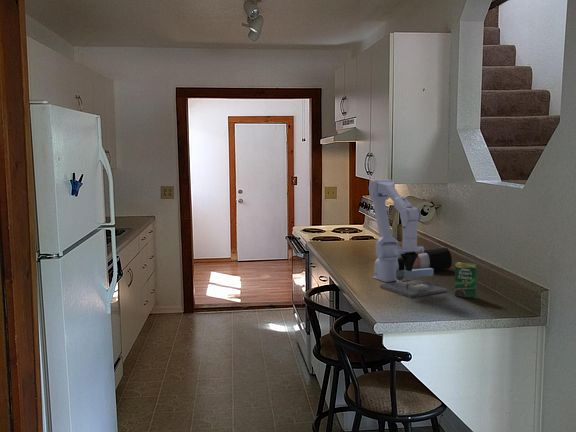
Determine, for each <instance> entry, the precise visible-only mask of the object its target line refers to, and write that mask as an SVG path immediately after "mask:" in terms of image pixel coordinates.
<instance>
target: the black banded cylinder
mask: <svg viewBox="0 0 576 432" xmlns="http://www.w3.org/2000/svg"><path fill="white" fill-rule="evenodd" d="M417 254H418V257H417V258H416V260H415V262H414V264H413V268H412V269H424V268H432V269H434V271H439V270H449V269H450V268H451V267H452V261H453V259H452V253H451V252H450V250H449V248H448V247H437V248H433V249H432V248H431V249H424V252H421V253H417ZM397 270H406V268H405V264H404V261H403V259H402V257H401V256H400V257H399V258H398V260H396V271H397Z"/></svg>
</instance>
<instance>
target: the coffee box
mask: <svg viewBox="0 0 576 432" xmlns="http://www.w3.org/2000/svg"><path fill="white" fill-rule="evenodd" d="M454 267H455V268H454V297H459V296H460V297H461V298H469V299H476V298H477V292H478V291H477V289H478V286H477V285H478V284H477V283H478V263H470V262H469V263H468V262H458V261H456V262H455V263H454Z"/></svg>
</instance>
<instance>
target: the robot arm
mask: <svg viewBox="0 0 576 432" xmlns="http://www.w3.org/2000/svg"><path fill="white" fill-rule="evenodd" d="M368 193H369V197H370V200H371V201H372V205H373V209H374V216H375V219H376V224H377V230H378V234H379V235H378V236H379V239H378V240H377V241H376V242H375V256H376V260H375V261H374V271H373V272H374V276H372V279H375V280H376V279H377V280H378V281H379V280H380V281H382V282H385V283H391V282H397V278H396V260H398V258H401V257H402V259H403V261H404V264H405V268H406V270H407V271H412V268H413V264H414V262H415V260H416V258H417V257H418V254H419V252H421V253H423V252H424V250H425V247H424V246H422V245H421V246H418V222H419V221H420V220H421V218H422V217H421V216H422V214H421V213H422V212H421V210H420V208H419V207H416V206H413V205H412V204H411V203H410V202H409V200H408V199H407V197H406V196H401V195H400V194H399V192H398V190H397V189H396V184H395V182H394V180H393V179H392V178H388V179H371V180H370V181H369V185H368ZM389 199H391V201H392V202H393V207H394V208H395V210H396V211H397V212H398V214H399V217H400V221H401V226H402V241H401V243H402V245H401V246H400V243H399V241H398V240H399V239H397V238H395V237H394V236H393V235H392V231H391V224H390V221H389V216H388V211H387V206H386V201H387V200H389Z"/></svg>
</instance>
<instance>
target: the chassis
mask: <svg viewBox="0 0 576 432" xmlns="http://www.w3.org/2000/svg"><path fill="white" fill-rule="evenodd" d="M403 279H404V278H403ZM403 279H397V281H392V282H386V283H382V284H380V285H379V286H380V288H381V289H384V290H387V291H390V292H392V293H396V294H398V295H401V296H404V297H408V298H409V299H410V298H411V299H412V298H417V297H423V296H427V295H433V294H440V293H444V292H447V290H448V289H447V287H446V288H445V287H443V286H441V285H440V286H439V285H437V284H433V283H430V282H426V281H423V280H420V279H416V278H414V279H413V278H411V279H407V280H403Z"/></svg>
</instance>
